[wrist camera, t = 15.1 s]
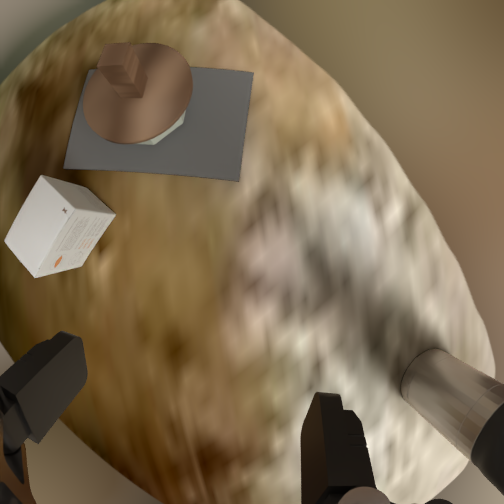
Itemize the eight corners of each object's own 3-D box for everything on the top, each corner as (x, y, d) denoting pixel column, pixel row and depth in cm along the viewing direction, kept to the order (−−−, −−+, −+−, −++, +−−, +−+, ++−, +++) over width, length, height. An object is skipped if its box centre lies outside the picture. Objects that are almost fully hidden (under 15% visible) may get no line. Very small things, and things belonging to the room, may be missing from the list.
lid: (202, 48, 28) (197, 3, 20) (181, 147, 28) (165, 118, 20) (103, 50, 27) (78, 12, 19) (75, 143, 27) (36, 120, 19)
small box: (87, 187, 33) (41, 171, 22) (118, 215, 33) (77, 207, 23) (53, 239, 33) (1, 241, 22) (81, 268, 33) (34, 279, 23)
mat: (253, 74, 33) (253, 72, 33) (238, 181, 34) (238, 180, 33) (90, 71, 32) (89, 69, 31) (65, 169, 32) (63, 168, 32)
